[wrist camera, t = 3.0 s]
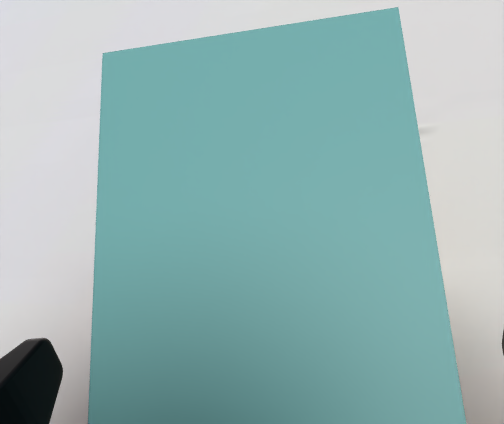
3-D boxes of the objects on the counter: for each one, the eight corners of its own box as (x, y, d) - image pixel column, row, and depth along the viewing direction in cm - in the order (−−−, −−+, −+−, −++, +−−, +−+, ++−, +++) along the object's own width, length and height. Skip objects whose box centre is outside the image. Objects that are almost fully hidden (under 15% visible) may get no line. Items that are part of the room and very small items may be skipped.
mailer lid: (461, 635, 10) (526, 785, 6) (155, 625, 11) (75, 750, 7) (383, 91, 13) (398, 7, 10) (157, 120, 14) (102, 53, 11)
